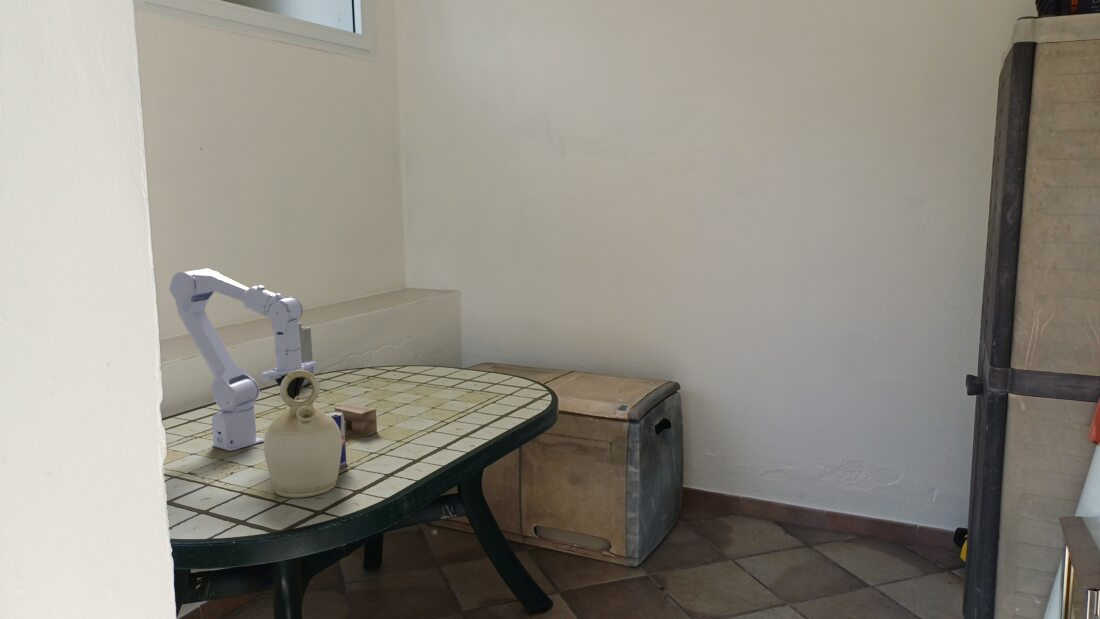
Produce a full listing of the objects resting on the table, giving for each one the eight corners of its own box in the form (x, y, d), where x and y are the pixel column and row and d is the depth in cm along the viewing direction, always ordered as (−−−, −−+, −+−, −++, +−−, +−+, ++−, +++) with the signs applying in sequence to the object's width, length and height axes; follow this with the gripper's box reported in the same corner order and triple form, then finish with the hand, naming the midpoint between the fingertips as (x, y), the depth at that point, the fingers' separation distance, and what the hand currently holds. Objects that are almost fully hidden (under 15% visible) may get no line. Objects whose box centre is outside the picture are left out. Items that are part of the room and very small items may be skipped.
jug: (337, 499, 165) (330, 376, 161) (258, 503, 164) (249, 379, 160) (349, 473, 180) (343, 360, 176) (276, 476, 179) (269, 363, 175)
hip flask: (297, 391, 255) (293, 327, 252) (284, 391, 255) (280, 327, 252) (315, 379, 270) (311, 318, 268) (302, 379, 271) (299, 319, 268)
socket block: (361, 437, 206) (360, 413, 205) (335, 430, 212) (334, 407, 211) (377, 432, 210) (375, 409, 209) (351, 425, 216) (350, 403, 215)
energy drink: (333, 471, 181) (330, 418, 180) (316, 467, 184) (313, 415, 182) (351, 464, 186) (348, 412, 184) (334, 460, 189) (331, 409, 187)
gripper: (272, 356, 187) (276, 414, 189) (323, 345, 199) (327, 400, 201) (253, 353, 192) (258, 410, 194) (305, 342, 203) (309, 397, 205)
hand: (292, 405), depth 198 cm, fingers closed
